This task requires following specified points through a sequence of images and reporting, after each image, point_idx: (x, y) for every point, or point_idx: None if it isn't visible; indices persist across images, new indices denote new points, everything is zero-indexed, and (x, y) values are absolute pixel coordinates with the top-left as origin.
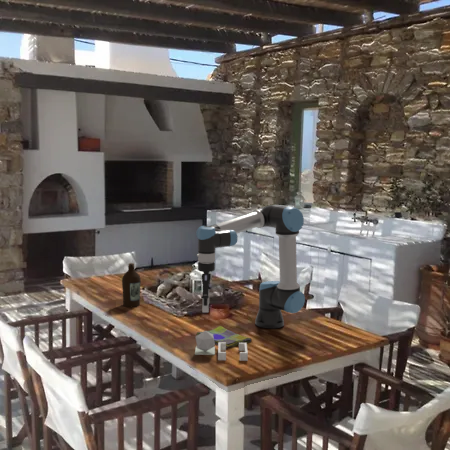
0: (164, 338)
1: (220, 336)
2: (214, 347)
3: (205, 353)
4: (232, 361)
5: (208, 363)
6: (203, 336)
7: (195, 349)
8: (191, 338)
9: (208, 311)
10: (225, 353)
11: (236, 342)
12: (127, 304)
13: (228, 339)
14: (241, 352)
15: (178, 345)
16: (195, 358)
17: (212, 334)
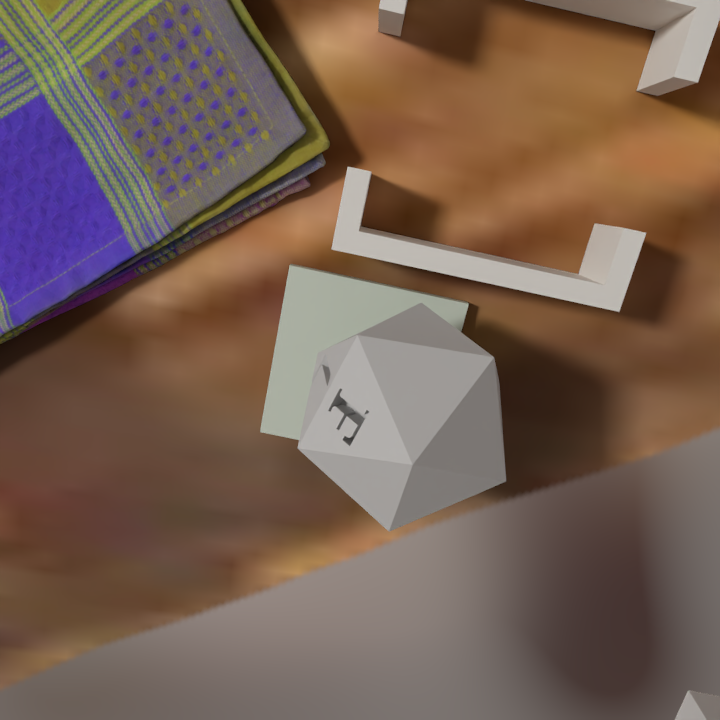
0: (26, 622)
1: (9, 151)
2: (306, 274)
3: None
4: (655, 171)
5: (636, 388)
6: (475, 475)
7: None
8: (27, 424)
9: (697, 702)
10: (641, 238)
11: (248, 17)
12: None
13: (104, 81)
14: (690, 58)
15: (194, 547)
16: None
17: (373, 347)
